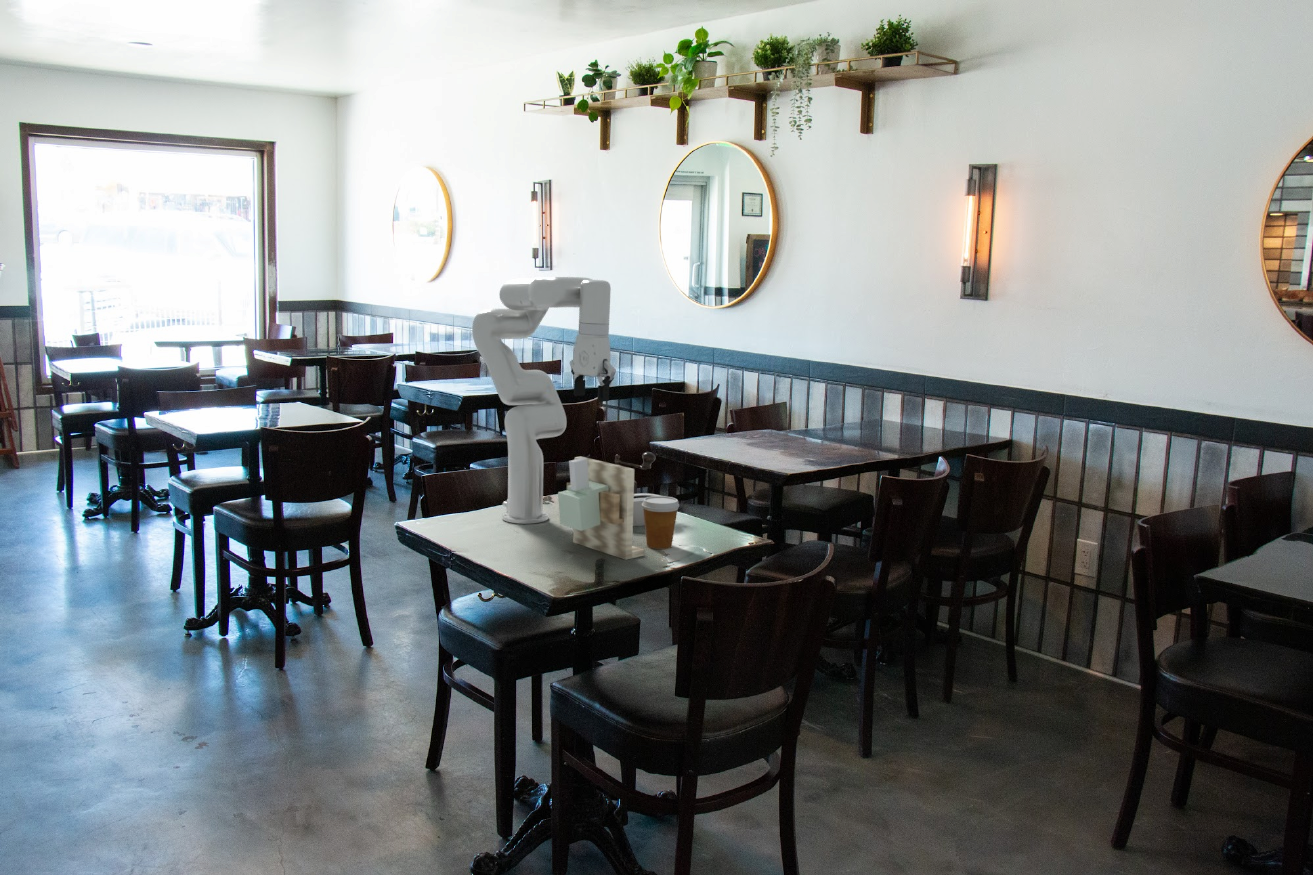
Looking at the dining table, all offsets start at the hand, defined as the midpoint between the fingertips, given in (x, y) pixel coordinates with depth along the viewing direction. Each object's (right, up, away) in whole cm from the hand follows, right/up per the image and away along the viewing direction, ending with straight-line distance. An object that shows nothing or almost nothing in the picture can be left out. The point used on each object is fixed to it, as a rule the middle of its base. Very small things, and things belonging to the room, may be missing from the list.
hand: (591, 398), depth 260 cm
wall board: (+3, -38, -3) cm, 38 cm away
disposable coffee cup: (+17, -38, +2) cm, 41 cm away
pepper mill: (+7, -31, +38) cm, 50 cm away
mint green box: (-1, -31, -8) cm, 32 cm away
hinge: (+12, -34, +23) cm, 43 cm away
